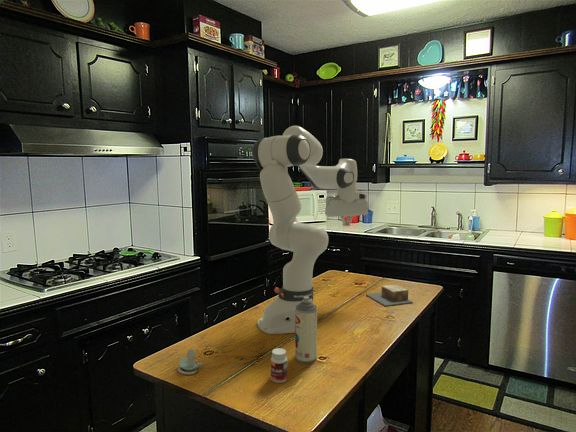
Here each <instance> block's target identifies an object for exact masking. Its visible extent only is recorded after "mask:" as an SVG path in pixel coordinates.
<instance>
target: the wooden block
mask: <svg viewBox="0 0 576 432" xmlns="http://www.w3.org/2000/svg"><path fill="white" fill-rule="evenodd" d="M381 292H382V296H384V297H386V298H388V299H390V300H391V301H398V300H406V299H408V300H409V289H407V288H405V287H404V286H400V285H398V284H389V285H382V286H381Z"/></svg>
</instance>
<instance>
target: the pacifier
mask: <svg viewBox="0 0 576 432" xmlns="http://www.w3.org/2000/svg"><path fill="white" fill-rule="evenodd" d="M195 357H196V351H195V350H194V348H189V349H188V350H187V352H186V357H185V358H184V357H183V358H181V359H180V360H179V367H178V368H177V372H178V373H179V374H182V375H186V376H187V375H190V376H191V375H194V374H196V373H197V372H198V371H197V368H199V367H201V366H202V365H203V362H198V363H195ZM184 370H186V371H184Z"/></svg>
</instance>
